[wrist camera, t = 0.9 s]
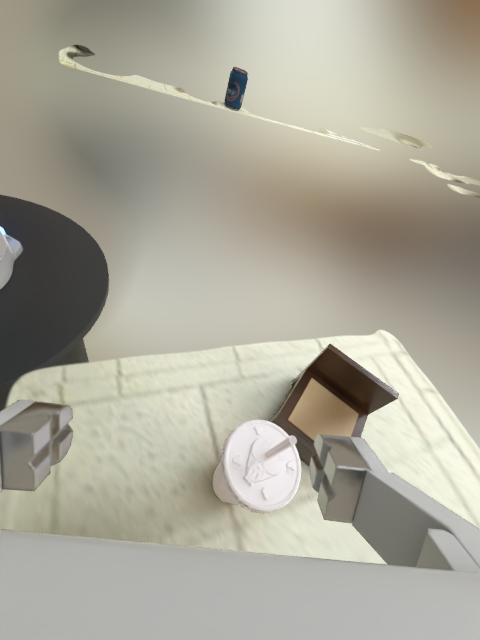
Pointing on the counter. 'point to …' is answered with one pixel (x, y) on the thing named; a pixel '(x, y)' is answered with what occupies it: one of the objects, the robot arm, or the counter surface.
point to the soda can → (236, 88)
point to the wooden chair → (330, 400)
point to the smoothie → (258, 467)
